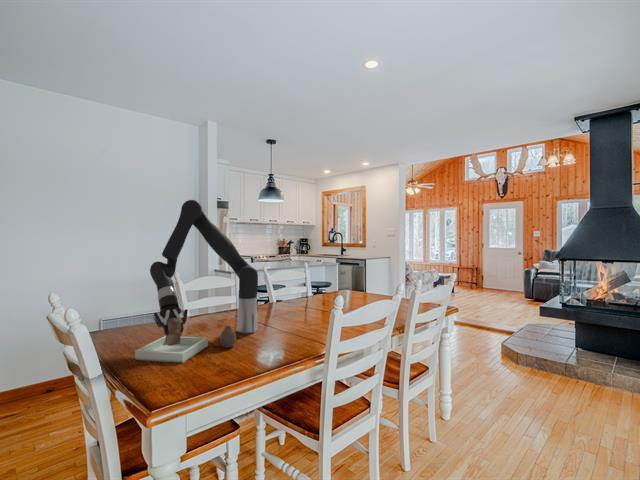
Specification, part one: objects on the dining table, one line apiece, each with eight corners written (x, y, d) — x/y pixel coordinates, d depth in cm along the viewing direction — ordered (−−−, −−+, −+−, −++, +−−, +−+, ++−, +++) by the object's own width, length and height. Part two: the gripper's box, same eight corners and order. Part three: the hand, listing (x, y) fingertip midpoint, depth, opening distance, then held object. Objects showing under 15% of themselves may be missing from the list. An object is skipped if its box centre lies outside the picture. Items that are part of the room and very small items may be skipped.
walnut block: (177, 340, 141) (177, 317, 141) (180, 343, 138) (180, 319, 137) (165, 342, 138) (166, 318, 138) (168, 345, 135) (168, 320, 135)
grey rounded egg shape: (239, 344, 148) (239, 325, 148) (230, 349, 142) (230, 329, 142) (226, 343, 151) (226, 323, 151) (216, 347, 144) (216, 327, 144)
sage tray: (207, 345, 147) (207, 337, 146) (182, 362, 127) (182, 353, 127) (165, 343, 149) (165, 335, 149) (135, 359, 130) (135, 350, 130)
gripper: (151, 295, 139) (156, 331, 130) (186, 292, 148) (194, 326, 139) (148, 306, 144) (153, 341, 134) (183, 302, 152) (190, 335, 143)
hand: (174, 333), depth 136 cm, fingers closed on walnut block, 4 cm apart
